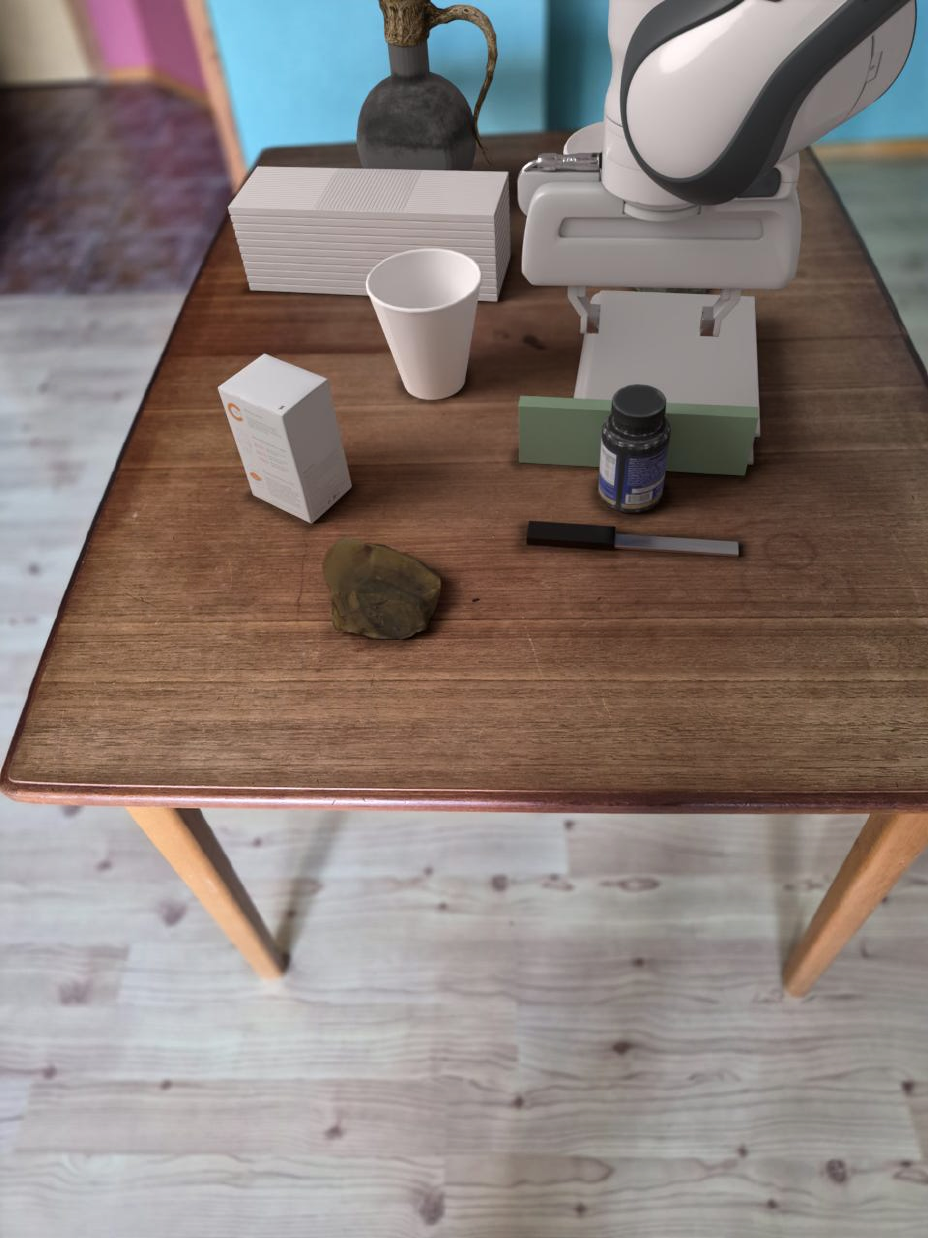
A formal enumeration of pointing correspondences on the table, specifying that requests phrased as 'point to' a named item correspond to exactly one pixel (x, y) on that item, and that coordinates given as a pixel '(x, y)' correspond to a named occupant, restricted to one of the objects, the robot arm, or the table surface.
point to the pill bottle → (634, 449)
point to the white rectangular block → (671, 350)
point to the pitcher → (421, 96)
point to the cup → (427, 316)
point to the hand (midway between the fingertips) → (648, 331)
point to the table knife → (620, 540)
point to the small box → (287, 436)
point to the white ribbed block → (366, 224)
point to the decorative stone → (378, 590)
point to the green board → (695, 444)
